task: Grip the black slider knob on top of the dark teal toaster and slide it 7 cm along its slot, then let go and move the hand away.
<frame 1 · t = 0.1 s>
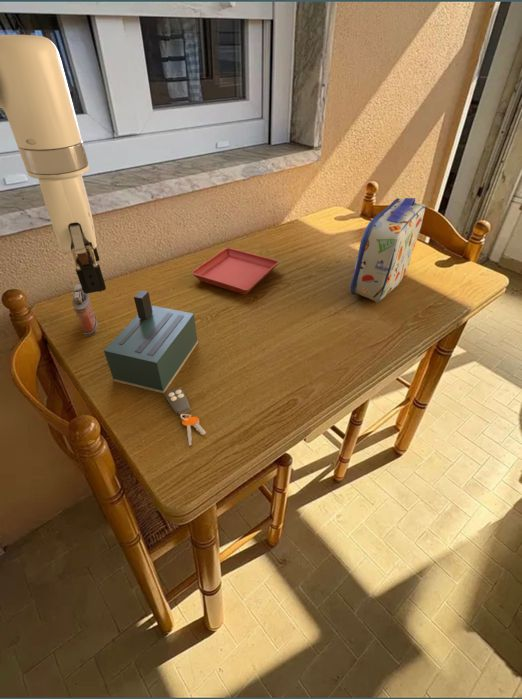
hand: (92, 275, 60), 24 cm above the table, tool pointing down, fingers open, 9 cm apart
toaster: (158, 360, 80), on the table
key chain: (185, 417, 69), on the table
lunch box: (379, 284, 106), on the table
slider: (143, 305, 77), point 11 cm above the table, slide at 0.0 cm
lighter: (90, 326, 89), on the table
plant saucer: (236, 277, 107), on the table
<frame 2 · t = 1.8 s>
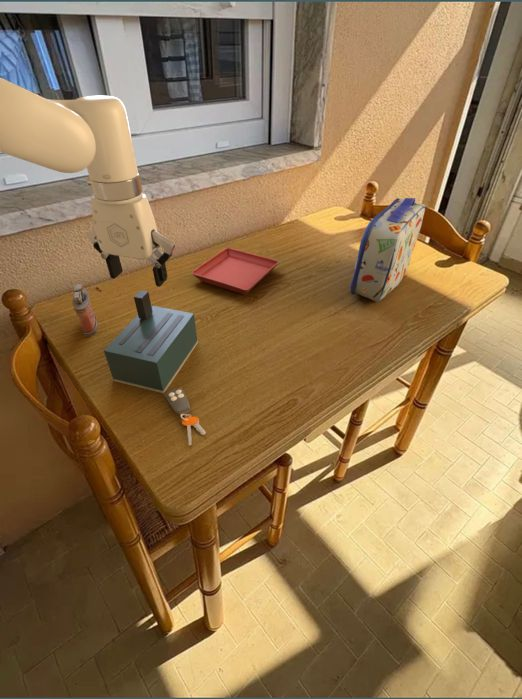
hand: (139, 279, 73), 17 cm above the table, tool pointing down, fingers open, 9 cm apart
nothing on the table moved.
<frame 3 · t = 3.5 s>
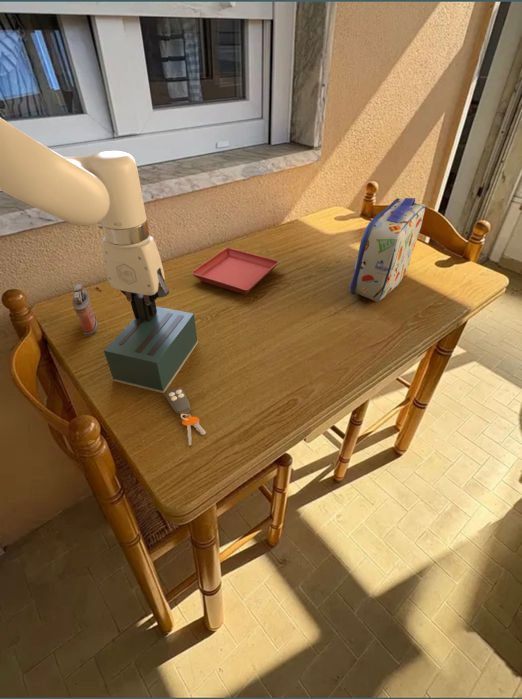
hand: (145, 315, 79), 8 cm above the table, tool pointing down, fingers closed on slider, 2 cm apart
slider: (143, 305, 77), point 11 cm above the table, slide at 0.0 cm, touching gripper
everything else where it was.
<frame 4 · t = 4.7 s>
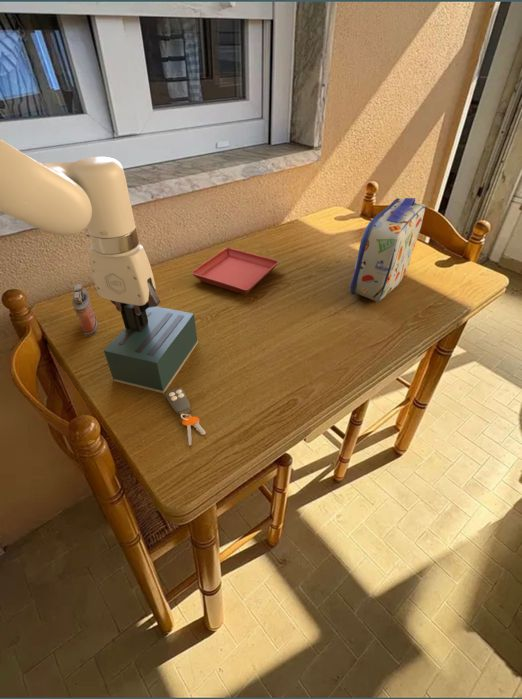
hand: (136, 325, 76), 8 cm above the table, tool pointing down, fingers closed on slider, 2 cm apart
slider: (134, 314, 74), point 11 cm above the table, slide at 3.6 cm, touching gripper
everything else where it was.
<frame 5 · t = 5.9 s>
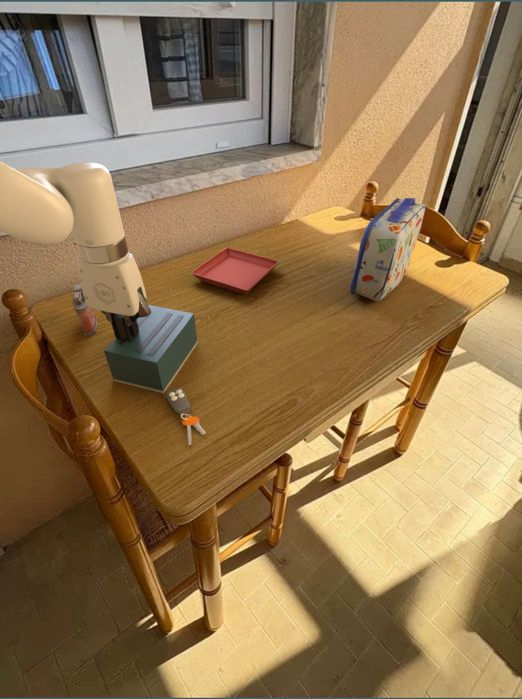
hand: (127, 335, 74), 8 cm above the table, tool pointing down, fingers closed on slider, 2 cm apart
slider: (124, 324, 72), point 11 cm above the table, slide at 6.9 cm, touching gripper
everything else where it was.
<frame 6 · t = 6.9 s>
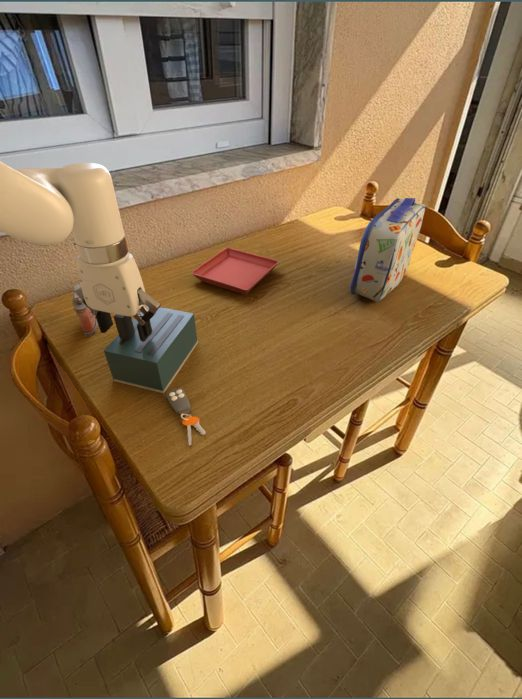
hand: (126, 332, 73), 9 cm above the table, tool pointing down, fingers open, 8 cm apart
slider: (124, 324, 72), point 11 cm above the table, slide at 6.9 cm
everything else where it was.
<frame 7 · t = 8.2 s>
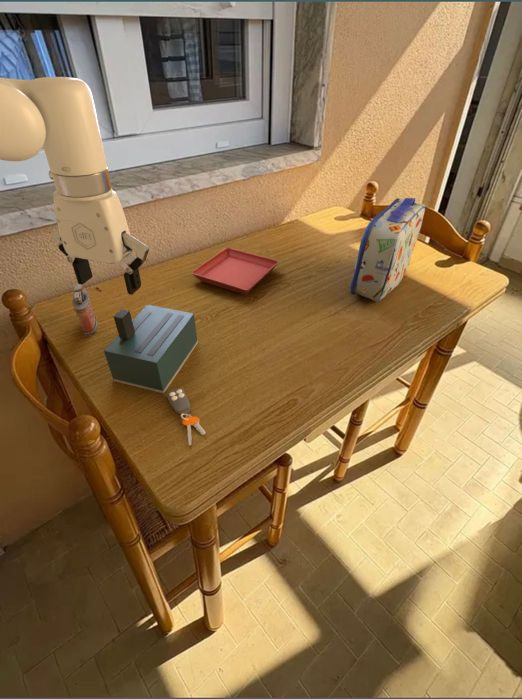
hand: (110, 285, 66), 20 cm above the table, tool pointing down, fingers open, 9 cm apart
nothing on the table moved.
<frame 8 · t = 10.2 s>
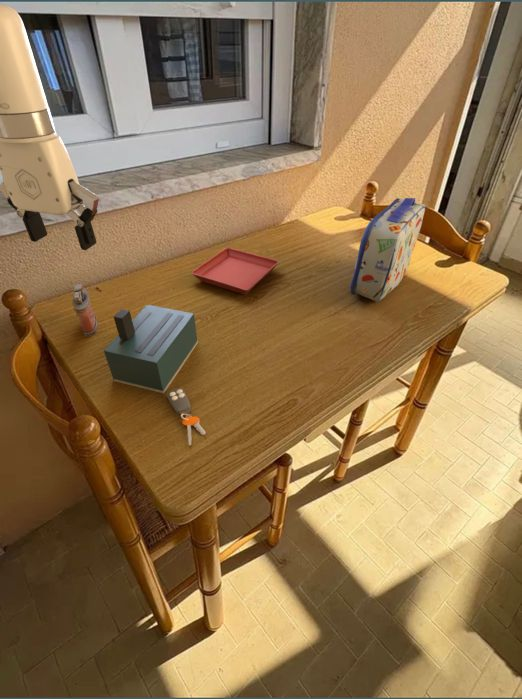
hand: (64, 242, 63), 26 cm above the table, tool pointing down, fingers open, 9 cm apart
nothing on the table moved.
at the end: slider slide at 6.9 cm; the gripper is holding nothing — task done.
